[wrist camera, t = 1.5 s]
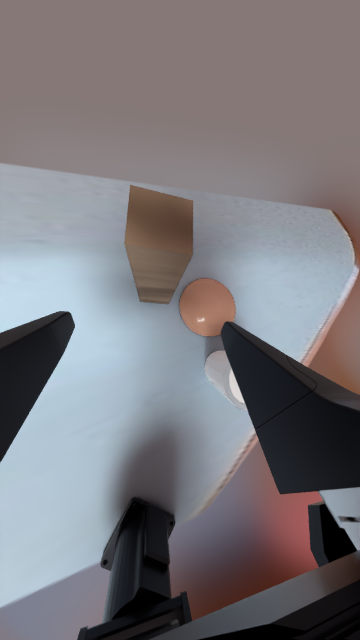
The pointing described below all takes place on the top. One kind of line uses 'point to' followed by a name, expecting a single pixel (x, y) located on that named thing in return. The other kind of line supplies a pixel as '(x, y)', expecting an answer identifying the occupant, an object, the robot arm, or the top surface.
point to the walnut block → (158, 242)
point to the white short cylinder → (224, 378)
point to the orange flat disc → (206, 307)
